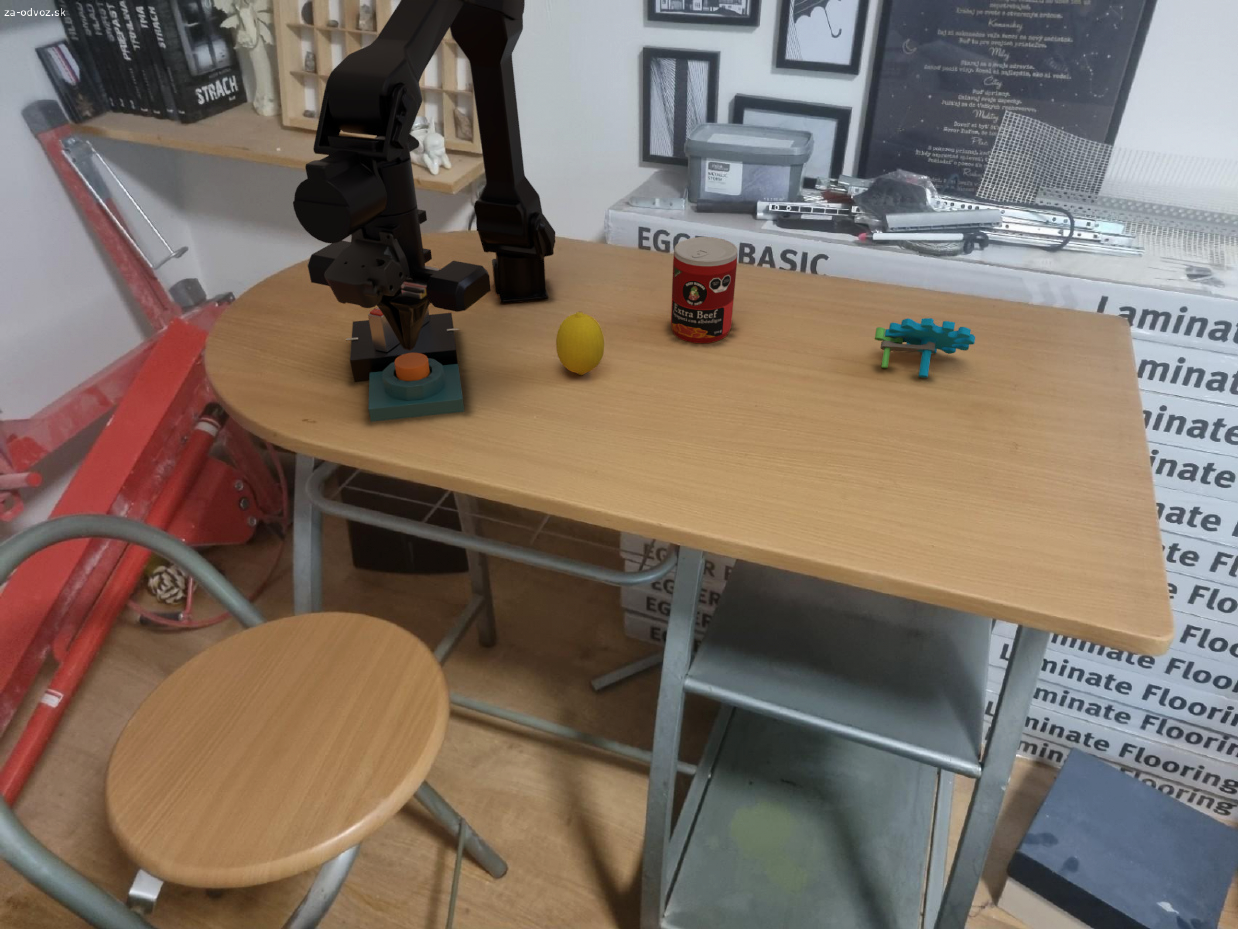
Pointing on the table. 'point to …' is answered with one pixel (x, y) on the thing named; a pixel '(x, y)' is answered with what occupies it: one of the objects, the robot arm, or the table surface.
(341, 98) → the robot arm
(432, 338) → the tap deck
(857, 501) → the table surface
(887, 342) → the gear
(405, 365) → the button
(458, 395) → the control block
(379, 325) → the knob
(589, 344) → the lemon
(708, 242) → the canned food
